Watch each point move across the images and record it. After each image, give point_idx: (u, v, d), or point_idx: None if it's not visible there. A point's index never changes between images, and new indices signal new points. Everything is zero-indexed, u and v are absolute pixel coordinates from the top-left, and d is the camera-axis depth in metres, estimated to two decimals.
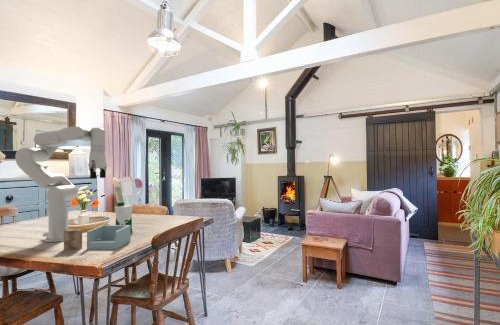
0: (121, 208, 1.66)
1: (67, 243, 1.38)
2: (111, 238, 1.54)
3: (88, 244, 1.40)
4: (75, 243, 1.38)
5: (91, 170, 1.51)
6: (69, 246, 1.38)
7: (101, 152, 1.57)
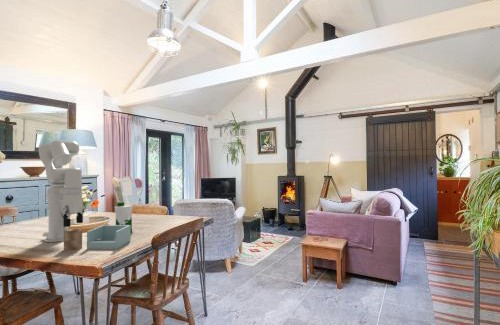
0: (121, 208, 1.66)
1: (67, 243, 1.38)
2: (111, 238, 1.54)
3: (88, 244, 1.40)
4: (75, 243, 1.38)
5: (64, 217, 1.33)
6: (69, 246, 1.38)
7: (77, 195, 1.39)
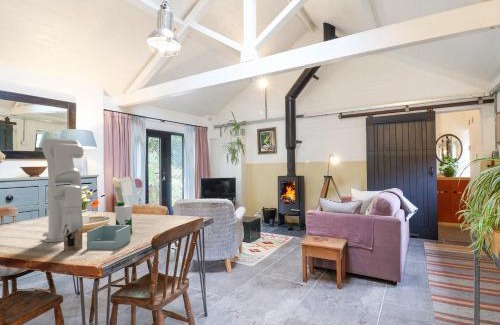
0: (121, 208, 1.66)
1: (67, 243, 1.38)
2: (111, 238, 1.54)
3: (88, 244, 1.40)
4: (75, 243, 1.38)
5: (68, 237, 1.37)
6: (69, 246, 1.38)
7: (76, 214, 1.39)
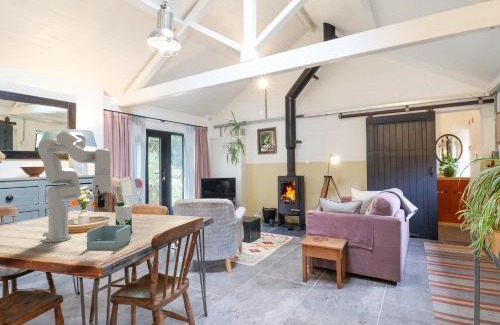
0: (121, 208, 1.66)
1: (97, 205, 1.41)
2: (111, 238, 1.54)
3: (88, 244, 1.40)
4: (105, 205, 1.41)
5: (99, 198, 1.40)
6: (99, 208, 1.41)
7: (106, 176, 1.42)
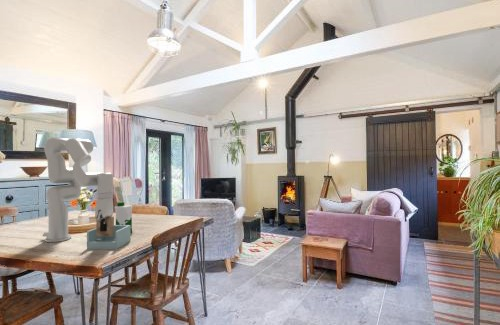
0: (121, 208, 1.66)
1: None
2: (111, 238, 1.54)
3: (88, 244, 1.40)
4: (107, 229, 1.42)
5: (101, 223, 1.40)
6: (101, 232, 1.42)
7: (108, 200, 1.42)
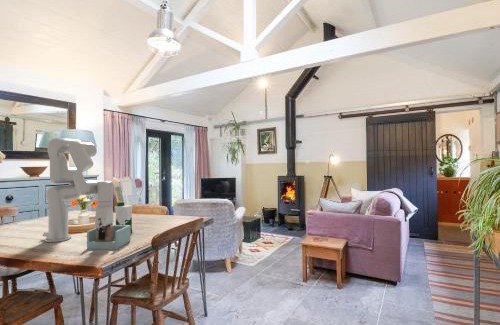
0: (121, 208, 1.66)
1: None
2: None
3: (88, 244, 1.40)
4: (107, 239, 1.42)
5: (99, 231, 1.38)
6: None
7: (108, 208, 1.42)
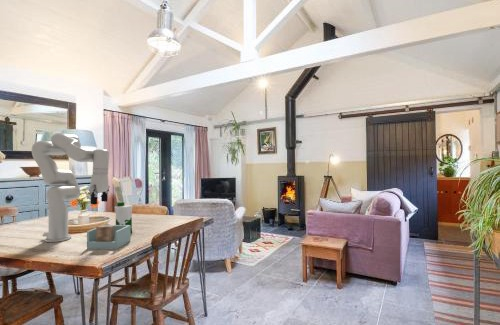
0: (121, 208, 1.66)
1: (99, 239, 1.42)
2: None
3: (88, 244, 1.40)
4: (107, 239, 1.42)
5: (92, 195, 1.41)
6: None
7: (103, 175, 1.47)
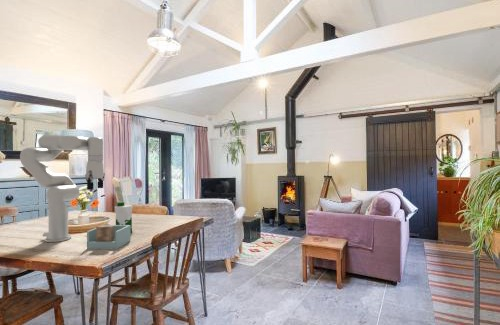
0: (121, 208, 1.66)
1: (99, 239, 1.42)
2: None
3: (88, 244, 1.40)
4: (107, 239, 1.42)
5: (88, 181, 1.47)
6: None
7: (99, 162, 1.52)
